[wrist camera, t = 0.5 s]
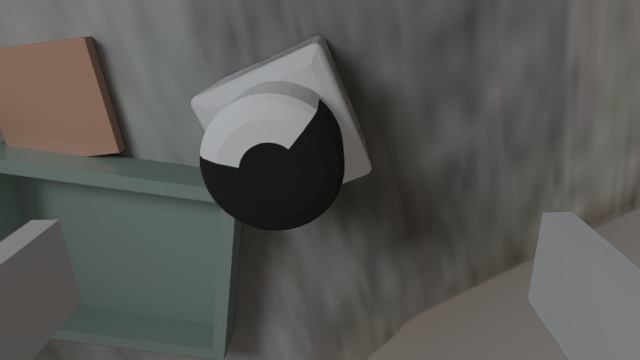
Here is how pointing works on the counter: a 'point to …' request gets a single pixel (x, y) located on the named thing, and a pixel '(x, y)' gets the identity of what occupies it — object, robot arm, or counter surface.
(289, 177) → the container
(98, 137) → the terracotta tile
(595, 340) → the robot arm
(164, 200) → the box
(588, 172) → the counter surface
